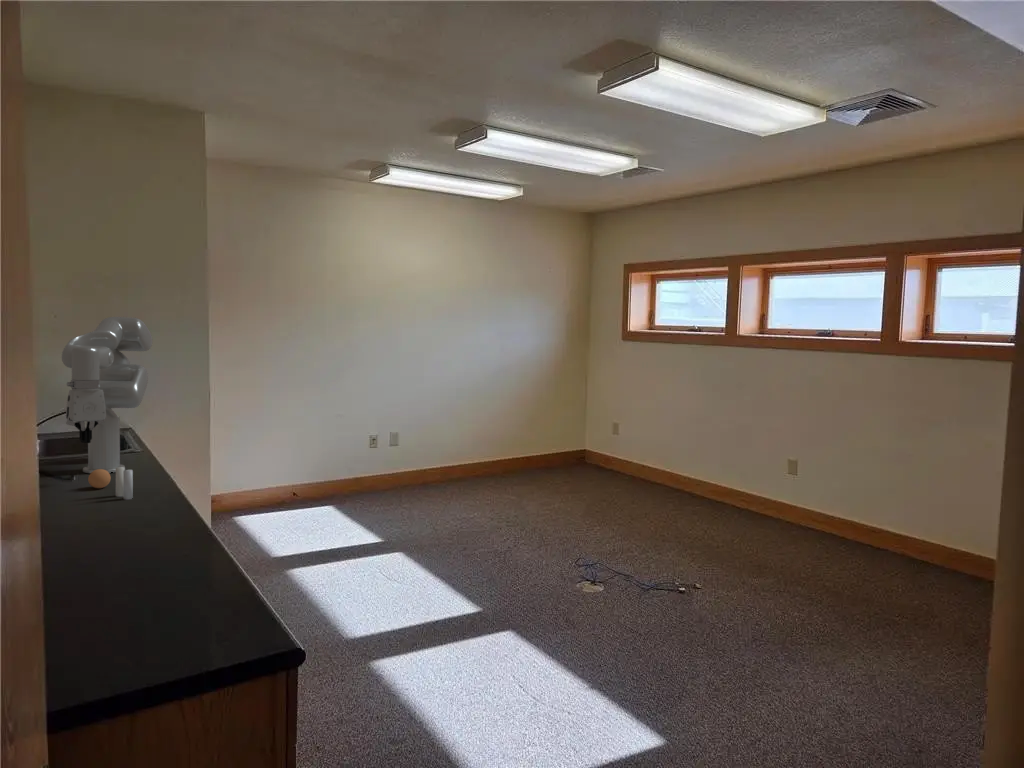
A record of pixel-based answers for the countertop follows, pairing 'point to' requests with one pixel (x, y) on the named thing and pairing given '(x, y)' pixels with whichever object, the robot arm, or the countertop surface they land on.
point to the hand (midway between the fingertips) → (85, 442)
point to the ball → (99, 478)
